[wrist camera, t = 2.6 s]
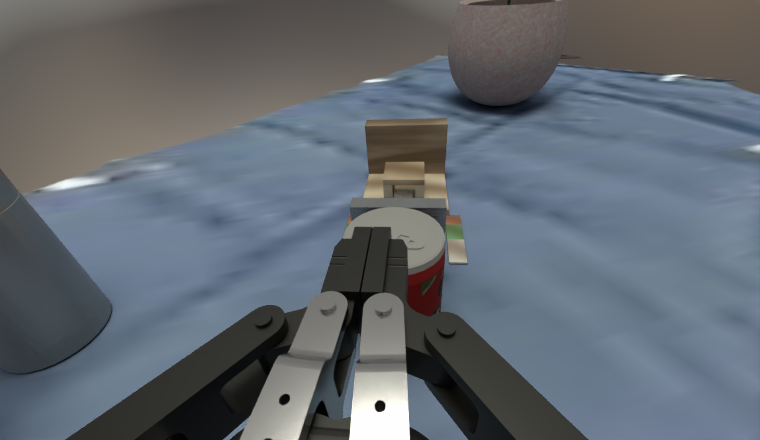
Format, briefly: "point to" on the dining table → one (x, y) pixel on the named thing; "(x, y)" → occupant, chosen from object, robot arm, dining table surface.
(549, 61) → the plant pot
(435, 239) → the canned food
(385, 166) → the wooden stand
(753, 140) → the dining table surface
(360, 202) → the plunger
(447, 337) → the robot arm
